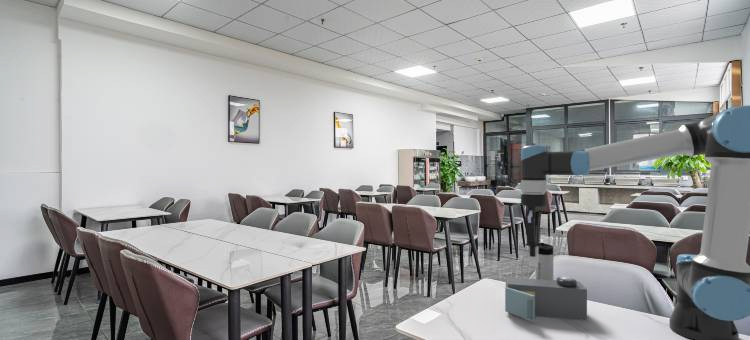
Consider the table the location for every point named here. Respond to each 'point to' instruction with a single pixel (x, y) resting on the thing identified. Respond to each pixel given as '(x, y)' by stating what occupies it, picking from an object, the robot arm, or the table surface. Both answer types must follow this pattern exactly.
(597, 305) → the table surface
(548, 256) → the travel mug
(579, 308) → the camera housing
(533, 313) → the side door
